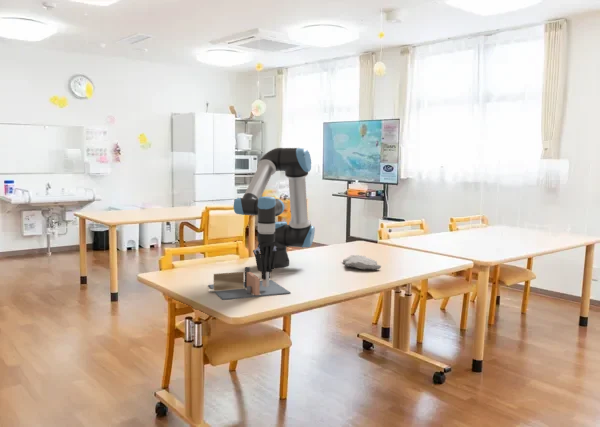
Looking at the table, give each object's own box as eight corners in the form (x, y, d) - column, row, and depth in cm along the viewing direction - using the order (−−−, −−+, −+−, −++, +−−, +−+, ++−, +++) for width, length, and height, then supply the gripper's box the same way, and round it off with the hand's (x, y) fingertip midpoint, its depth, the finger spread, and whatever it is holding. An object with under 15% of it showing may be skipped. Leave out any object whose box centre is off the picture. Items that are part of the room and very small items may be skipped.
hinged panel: (250, 287, 230) (250, 271, 230) (259, 294, 218) (259, 278, 218) (246, 287, 230) (246, 272, 229) (255, 295, 218) (255, 278, 217)
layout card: (204, 286, 234) (204, 278, 234) (271, 280, 247) (271, 273, 247) (217, 300, 212) (217, 291, 212) (290, 293, 225) (290, 285, 225)
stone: (383, 270, 273) (362, 259, 302) (383, 260, 272) (362, 250, 301) (351, 273, 269) (333, 262, 298) (351, 263, 268) (333, 253, 297)
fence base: (213, 289, 227) (213, 269, 226) (249, 286, 233) (249, 266, 232) (214, 290, 225) (214, 270, 224) (250, 287, 231) (250, 267, 230)
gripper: (272, 230, 231) (271, 282, 234) (248, 232, 223) (248, 287, 225) (283, 232, 226) (282, 285, 229) (260, 235, 217) (259, 290, 220)
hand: (265, 286), depth 227 cm, fingers closed
